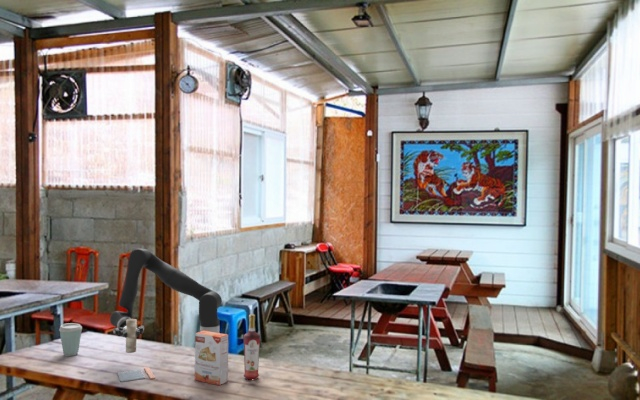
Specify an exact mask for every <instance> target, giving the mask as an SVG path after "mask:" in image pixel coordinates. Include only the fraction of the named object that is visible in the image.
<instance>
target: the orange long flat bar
mask: <svg viewBox="0 0 640 400" xmlns="http://www.w3.org/2000/svg"><path fill="white" fill-rule="evenodd" d="M143 370H144V372H145V374H146V375H147V376H148V378H149V379H150V380H155V379H156V377H155V375H154V373H153V372H152V370H151V368H150V367H149V366H147V367H146V366H145V367H143Z"/></svg>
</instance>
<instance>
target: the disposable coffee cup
mask: <svg viewBox="0 0 640 400" xmlns="http://www.w3.org/2000/svg"><path fill="white" fill-rule="evenodd" d="M82 330H83V326H82V325H81V324H80V323H76V322H75V323H73V322H70V323H69V322H68V323H63V324H61V325H60V326H59V328H58V331H59V335H60V336H59V337H60V340H61V341H60V342H61V349H62V352H63V355H64V356H65V357H71V356H77V355H78V353H79V352H80V351H79V349H80V344H81V343H80V342H81V337H82Z"/></svg>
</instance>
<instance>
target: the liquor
mask: <svg viewBox="0 0 640 400" xmlns="http://www.w3.org/2000/svg"><path fill="white" fill-rule="evenodd" d="M248 320H249V323H248V324H249V325H248V332H246V333H245V334H244V335H243V355H244V357H243V359H244V361H243V362H244V374H243V377H244V379H246V380H247V379H249V380H248V381H253V380H252V379H255V380H257V378H259V377H260V374H259V364H260V363H259V359H260V348H261V344H260V343H261V334H259V333H258V332H256V323H255V321H256V314H249V315H248Z"/></svg>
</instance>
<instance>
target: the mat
mask: <svg viewBox="0 0 640 400" xmlns="http://www.w3.org/2000/svg"><path fill="white" fill-rule="evenodd" d="M116 374H117V377H118V379H119V381H120V383H125V382H131V381H137V380H145V379H146V377H145V376H144V374H143V372H142V369H135V370H129V371H128V370H127V371H121V372H117V373H116Z"/></svg>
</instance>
